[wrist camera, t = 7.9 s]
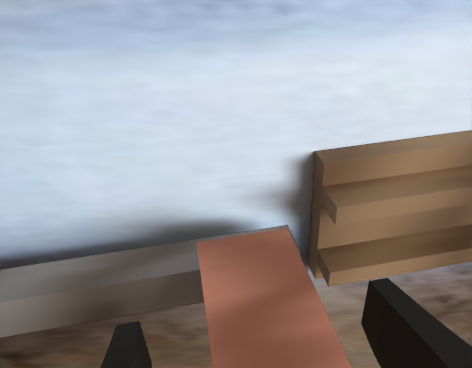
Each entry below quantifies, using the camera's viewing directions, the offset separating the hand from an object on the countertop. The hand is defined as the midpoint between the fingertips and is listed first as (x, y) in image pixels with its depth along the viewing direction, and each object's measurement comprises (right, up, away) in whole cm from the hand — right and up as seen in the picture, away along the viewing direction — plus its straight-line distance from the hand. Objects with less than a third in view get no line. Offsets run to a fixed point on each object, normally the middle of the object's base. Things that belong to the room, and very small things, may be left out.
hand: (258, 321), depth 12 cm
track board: (+9, +4, +5) cm, 12 cm away
